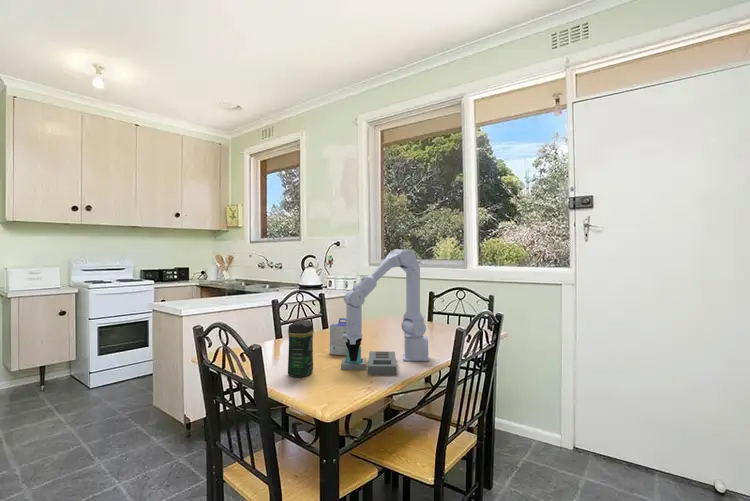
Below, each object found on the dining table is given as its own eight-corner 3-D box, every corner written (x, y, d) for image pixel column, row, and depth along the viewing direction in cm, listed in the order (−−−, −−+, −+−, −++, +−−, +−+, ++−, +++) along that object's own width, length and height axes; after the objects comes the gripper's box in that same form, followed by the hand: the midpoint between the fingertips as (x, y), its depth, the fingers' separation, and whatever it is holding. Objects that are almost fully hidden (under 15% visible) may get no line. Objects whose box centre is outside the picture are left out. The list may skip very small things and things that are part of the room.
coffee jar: (307, 378, 135) (307, 323, 135) (284, 377, 137) (284, 322, 137) (316, 370, 145) (316, 318, 145) (295, 368, 146) (295, 318, 146)
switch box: (394, 359, 159) (394, 351, 159) (396, 375, 139) (396, 365, 139) (369, 358, 159) (369, 350, 159) (367, 374, 139) (367, 365, 139)
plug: (360, 364, 152) (360, 342, 151) (360, 368, 148) (360, 344, 147) (347, 364, 152) (347, 342, 152) (346, 367, 148) (346, 344, 148)
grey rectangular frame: (366, 363, 154) (366, 358, 153) (365, 369, 146) (365, 364, 145) (342, 363, 154) (342, 357, 154) (340, 369, 146) (340, 363, 146)
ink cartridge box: (355, 352, 169) (355, 318, 169) (352, 356, 164) (352, 320, 164) (333, 351, 171) (333, 317, 171) (329, 354, 166) (329, 319, 166)
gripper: (345, 319, 157) (345, 354, 157) (341, 326, 142) (341, 364, 142) (363, 319, 157) (363, 354, 157) (361, 326, 142) (361, 365, 142)
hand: (353, 359), depth 150 cm, fingers closed on plug, 4 cm apart
